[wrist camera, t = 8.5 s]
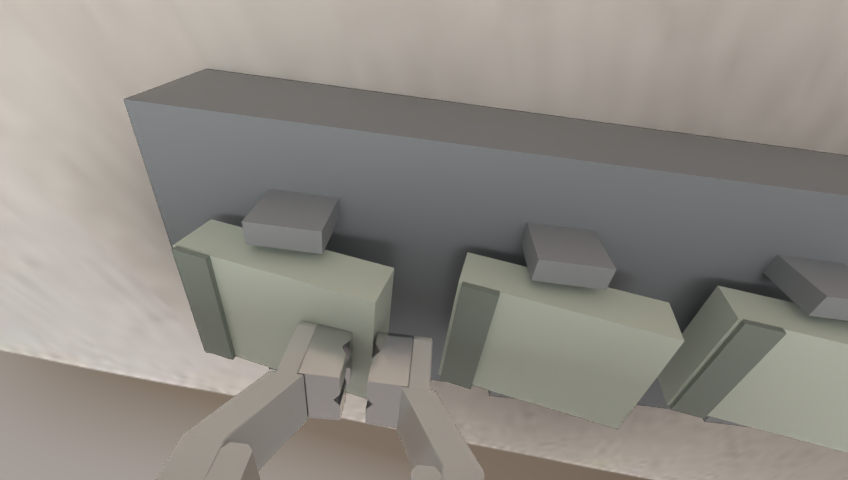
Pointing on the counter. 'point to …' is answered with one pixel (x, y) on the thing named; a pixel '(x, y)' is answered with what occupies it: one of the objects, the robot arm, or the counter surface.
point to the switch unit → (494, 196)
